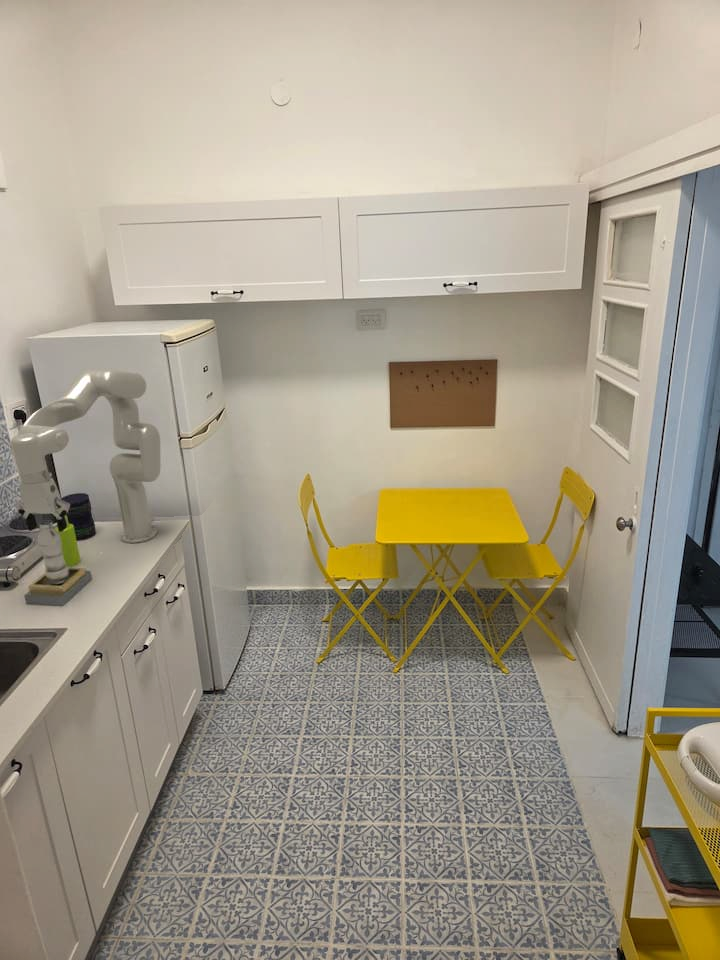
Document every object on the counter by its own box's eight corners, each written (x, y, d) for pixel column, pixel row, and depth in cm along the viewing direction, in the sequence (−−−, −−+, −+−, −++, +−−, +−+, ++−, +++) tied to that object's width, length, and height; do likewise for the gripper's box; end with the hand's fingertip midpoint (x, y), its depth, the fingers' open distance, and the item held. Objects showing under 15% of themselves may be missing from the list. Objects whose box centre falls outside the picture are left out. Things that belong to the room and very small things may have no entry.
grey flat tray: (57, 577, 202) (54, 563, 200) (92, 579, 200) (89, 565, 198) (26, 604, 187) (22, 589, 185) (63, 605, 185) (59, 591, 183)
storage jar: (101, 530, 235) (94, 493, 230) (85, 542, 226) (77, 503, 221) (78, 528, 237) (71, 492, 232) (61, 540, 228) (53, 502, 223)
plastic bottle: (61, 588, 189) (47, 527, 182) (42, 586, 190) (28, 526, 183) (75, 577, 195) (62, 519, 188) (57, 576, 196) (43, 517, 189)
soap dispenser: (58, 561, 212) (46, 507, 205) (80, 557, 215) (69, 503, 208) (58, 568, 207) (45, 513, 200) (80, 564, 210) (69, 509, 203)
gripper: (69, 471, 182) (81, 524, 189) (15, 471, 185) (29, 523, 191) (54, 481, 176) (67, 535, 182) (-2, 480, 178) (13, 534, 184)
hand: (48, 529), depth 187 cm, fingers open, 9 cm apart
